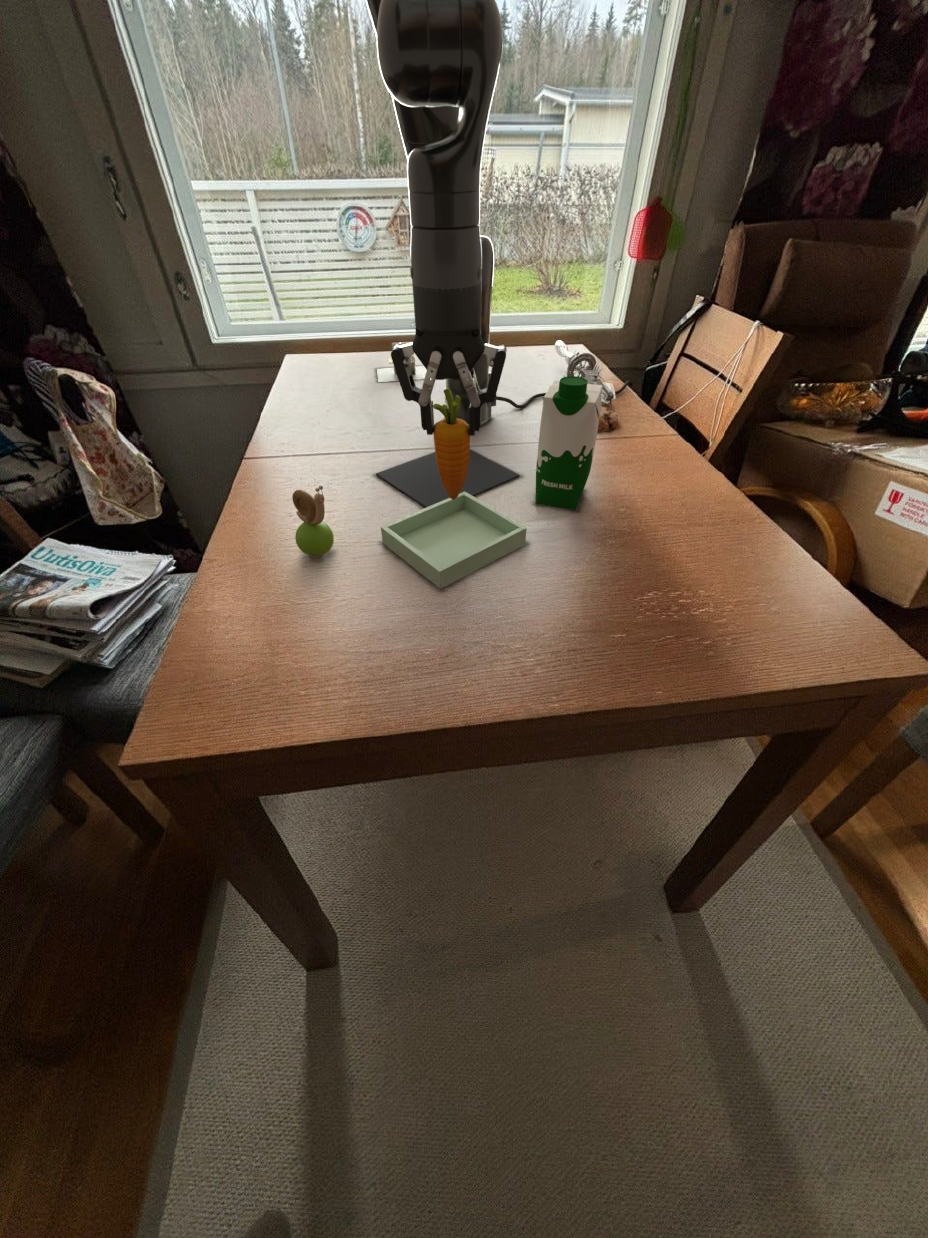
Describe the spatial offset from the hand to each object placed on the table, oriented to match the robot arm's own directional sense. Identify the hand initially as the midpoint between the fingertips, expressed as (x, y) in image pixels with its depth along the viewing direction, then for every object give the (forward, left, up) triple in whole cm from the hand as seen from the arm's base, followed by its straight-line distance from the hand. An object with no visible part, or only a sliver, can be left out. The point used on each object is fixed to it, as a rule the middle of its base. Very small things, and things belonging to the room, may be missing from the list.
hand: (451, 432), depth 66 cm
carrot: (0, 0, -10) cm, 10 cm away
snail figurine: (+17, -11, -18) cm, 27 cm away
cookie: (-53, -16, -18) cm, 58 cm away
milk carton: (-23, +1, -18) cm, 29 cm away
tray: (0, 0, -17) cm, 17 cm away
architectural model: (-41, -72, -18) cm, 85 cm away
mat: (-13, -18, -17) cm, 28 cm away
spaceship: (-69, -34, -18) cm, 79 cm away
